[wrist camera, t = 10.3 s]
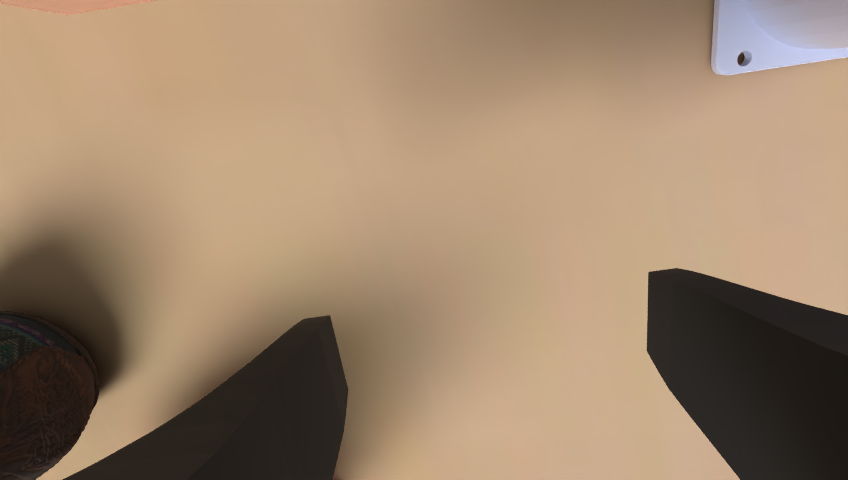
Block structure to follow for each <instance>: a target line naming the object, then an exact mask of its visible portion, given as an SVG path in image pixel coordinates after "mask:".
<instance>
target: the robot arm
mask: <svg viewBox="0 0 848 480" xmlns="http://www.w3.org/2000/svg"><path fill="white" fill-rule="evenodd" d="M741 52H743V53H744V56H745V59H744V62H743V63H742V64H741V65H739V64H738V62H737V58H738V55H739V54H740V53H741ZM845 57H848V0H715V5H714V21H713V38H712V54H711V67H712V70H713V71H714V73H716V74H718V75H733V74H739V73H746V72H753V71H759V70H766V69H773V68H779V67H786V66H792V65H799V64H806V63H812V62H819V61H825V60H832V59H839V58H845ZM647 352H648V354H649V355H650V357H651V359H652V361H653V363H654V364H655V366H656V368H657V370H658V372H659V373H660V375H661V377H662V378H663V380H664V381H665V383H666V385H667V386H668V388H669V389H670V391H671V392H672V393H673V395H674V396H675V397H676V399H677V400H678V401H679V403H680V404H681V405H682V406H683V408H684V409H685V410H686V412H687V413H688V414H689V415H690V417H691V418H692V419H693V420H694V422H695V423H696V424H697V426H698V427H699V428H700V429H701V431H702V432H703V433H704V434H705V436H706V437H707V438H708V439H709V441H710V442H711V443H712V444H713V446H714V447H715V448H716V449H717V451H718V452H719V453H720V454H721V456H722V457H723V458H724V459H725V461H726V462H727V463H728V465H729V466H730V467H731V468H732V470H733V471H734V472H735V473H736V475H737V476H738V477H739V478H740V480H848V315H844V314H840V313H836V312H833V311H829V310H825V309H821V308H817V307H814V306H810V305H806V304H802V303H799V302H795V301H792V300H788V299H785V298H781V297H778V296H775V295H771V294H768V293H765V292H761V291H758V290H755V289H751V288H748V287H745V286H742V285H738V284H735V283H732V282H728V281H725V280H722V279H718V278H715V277H712V276H708V275H705V274H701V273H697V272H693V271H689V270H684V269H678V268H675V269H667V270H660V271H653V272H649V276H648V323H647ZM347 396H348V387H347V383H346V379H345V375H344V371H343V367H342V363H341V359H340V354H339V350H338V346H337V342H336V338H335V334H334V330H333V326H332V322H331V317H330V316H322V317H315V318H308V319H303V320H302V321H300V322H299V323H297V324H296V325H294V326H293V327H292V328H291V329H289V330H288V331H287V332H286V333H284V334H283V335H282V336H281V337H280V338H278V339H277V340H276V341H275V342H274V343H273V344H271V345H270V346H269V347H268V348H267V349H265V350H264V351H263V352H262V353H261V354H259V355H258V356H257V357H256V358H255V359H253V360H252V361H251V362H250V363H248V364H247V365H246V366H245V367H243V368H242V369H241V370H240V371H238V372H237V373H236V374H234V375H233V376H232V377H230V378H229V379H228V380H227V381H225V382H224V383H223V384H221V385H220V386H219V387H217V388H216V389H215V390H213V391H212V392H211V393H210V394H208V395H207V396H205V397H204V398H203V399H201V400H200V401H198V402H197V403H195V404H194V405H192V406H191V407H190V408H188V409H187V410H185V411H184V412H182V413H180V414H179V415H177V416H176V417H174V418H173V419H171V420H170V421H168V422H166V423H165V424H163V425H162V426H160V427H159V428H157V429H155V430H154V431H152V432H150V433H149V434H147V435H145V436H143V437H141V438H140V439H138V440H136V441H134V442H132V443H131V444H129V445H127V446H125V447H124V448H122V449H120V450H118V451H116V452H115V453H113V454H111V455H109V456H107V457H106V458H104V459H102V460H100V461H99V462H97V463H95V464H93V465H91V466H89V467H87V468H85V469H83V470H81V471H79V472H77V473H75V474H73V475H71V476H69V477H67V478H65V479H63V480H332V478H333V474H334V470H335V466H336V461H337V457H338V453H339V449H340V445H341V440H342V436H343V432H344V425H345V416H346V407H347Z"/></svg>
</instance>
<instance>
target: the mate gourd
mask: <svg viewBox="0 0 848 480" xmlns="http://www.w3.org/2000/svg"><path fill="white" fill-rule="evenodd" d="M98 395H99V383H98V375H97V370H96V367H95V364H94V362H93V361H92V359H91V357H90V355H89V353H88V352H87V350H86V349H85V348H84V347H83V346H82V345H81V344H80V343H79V342H78V341H77V340H76V339H75V338H74V337H73V336H72V335H70V334H69V333H67V332H66V331H65V330H63V329H62V328H59V327H57V326H55V325H53V324H51V323H49V322H47V321H45V320H43V319H40V318H37V317H33V316H30V315H25V314H21V313H15V312H9V311H3V312H2V311H0V480H36V479H37V478H38V477H40V476H41V475H42V474H43V473H45V472H47V471H48V470H49V469H50V468H52V467H54V465H55V464H57V463H58V462H59V461H60V460H61V459H62V457H64V456H65V455H66V454H67V453H68V452H69V451H70V450H71V449H72V448H73V446H74V445H75V444H76V443H77V440H78V439H79V437H80V436H81V433H82V431H84V429H85V426H86V425H87V423H88V420H89V418H90V414H91V412H92V410H93V408H94V407H95V405H96V403H97V399H98Z"/></svg>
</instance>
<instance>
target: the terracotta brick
mask: <svg viewBox="0 0 848 480" xmlns="http://www.w3.org/2000/svg"><path fill="white" fill-rule="evenodd" d="M150 1H156V0H0V4H6V5H12V6H17V7H23V8H29V9H35V10H41V11H47V12H53V13H59V14H65V15H71V14H77V13H83V12H89V11H95V10H101V9H107V8H113V7H119V6H126V5H132V4H138V3H144V2H150Z"/></svg>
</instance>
